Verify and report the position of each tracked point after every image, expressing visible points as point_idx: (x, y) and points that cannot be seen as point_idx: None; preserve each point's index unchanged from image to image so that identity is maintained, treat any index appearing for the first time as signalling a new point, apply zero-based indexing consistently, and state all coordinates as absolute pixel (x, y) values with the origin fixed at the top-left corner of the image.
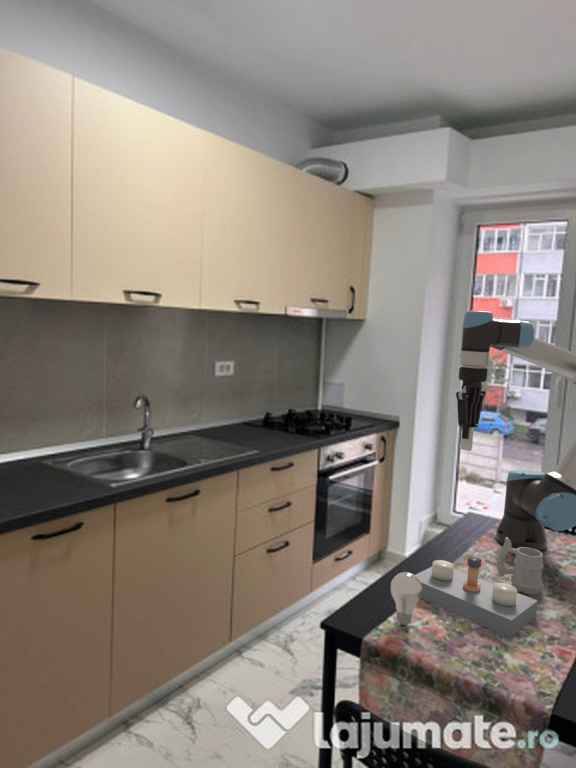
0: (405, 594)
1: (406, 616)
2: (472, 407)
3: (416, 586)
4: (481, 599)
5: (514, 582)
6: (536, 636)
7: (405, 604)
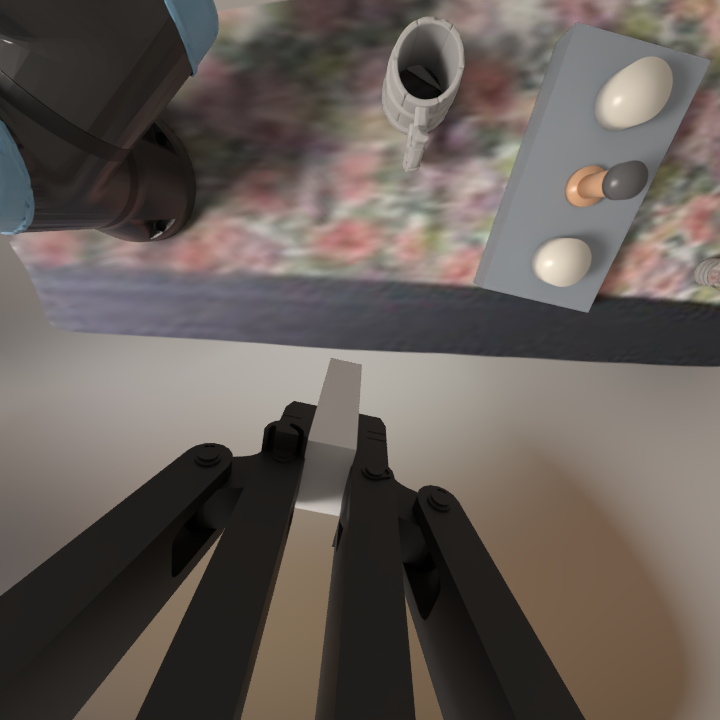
0: None
1: None
2: (346, 713)
3: None
4: (630, 152)
5: (443, 119)
6: (649, 21)
7: None
